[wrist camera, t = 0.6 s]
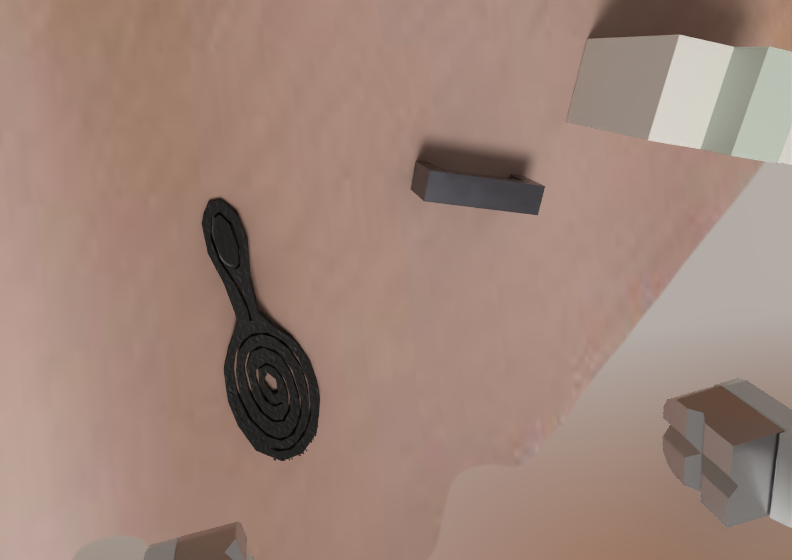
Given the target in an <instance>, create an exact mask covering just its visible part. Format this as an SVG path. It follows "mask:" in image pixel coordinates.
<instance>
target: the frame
mask: <svg viewBox="0 0 792 560" xmlns="http://www.w3.org/2000/svg"><path fill="white" fill-rule="evenodd" d="M544 188H545V186H543V185H541V184H539V183H537V182H534V181H532V180H530V179H528V178H526V177H524V176H518V175H511V176H510V179H507V178H500V177H492V176H485V175H478V174H471V173H464V172H456V171H449V170H442V169H438V168H436V167H435V166H433V165H432V164H430V163H426V162H419V161H416V164H415V169H414V175H413V181H412V186H411V190H412V191H413V192H414V193H416V194H417V195H418V196H419V197H420V198H421V199H422V200H423V201H427V202H435V203H443V204H451V205H460V206H468V207H476V208H484V209H492V210H500V211H508V212H516V213H525V214H533V215H538V212H539V208H540V204H541V200H542V196H543V192H544Z"/></svg>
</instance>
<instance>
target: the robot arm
mask: <svg viewBox="0 0 792 560" xmlns="http://www.w3.org/2000/svg"><path fill="white" fill-rule="evenodd" d="M663 418H664V419H665V420H666V421H667V422H668V423H669V424H670V426H669V428H668V429H667V431H666V433H665V434H664V436H663V452H664V455H665V458H666V461H667V463H668V466H669V467H670V469H671V470H672V472H673V473H674V475H675V476H676V477H677V478H678V479H679V480H680V481H681V482H682V483H683V484H684V485H686V486H688V487H691V488H694V489H696V490H699V491H700V501H701V503H702V504H703V505H704V506H705V507H706V508H707V509H709V511H710V512H711V513H712V514H714V516H716V517H717V518H718V519H719V520H720V521H721V522H722V523H723V524H724V525H725V526H726V527H731V526H734V525H738V524H741V523H744V522H748V521H751V520H755V519H758V518H762V517H765V516H768V515H770V518H772V519H774V520H776V521H778V522H780V523H782V524H784V525H786V526H789V527H790V528H792V410H791V409H789V408H788V407H786V406H785V405H783V404H782V403H780V402H779V401H777V400H776V399H774V398H773V397H771V396H769V395H768V394H767V393H765V392H764V391H762V390H760V389H759V388H757V387H756V386H754V385H753V384H751V383H750V382H748V381H747V380H743V379H739V378H737V379H734V380H731V381H727V382H724V383H720V384H717V385H714V386H713V387H709V388H705V389H702V390H699V391H695V392H692V393H688V394H685V395H681V396H678V397H675V398H671V399H668V400H667V401H666V403H665V405H664V412H663ZM144 560H254V558H253V557H252V556H250V555H249V554H247V537H246V535H245V532H244V530H243V527H242V524H241V523H239V522H235V523H231V524H227V525H223V526H220V527H216V528H212V529H208V530H204V531H200V532H196V533H193V534H189V535H185V536H181V537H180V538H176V539H172V540H168V541H164V542H160V543H156V544H153V545H150V546H149V548H148V549H147V551H146V552H145V556H144Z"/></svg>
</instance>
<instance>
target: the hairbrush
mask: <svg viewBox="0 0 792 560" xmlns="http://www.w3.org/2000/svg"><path fill="white" fill-rule="evenodd" d="M234 210H235V209H234ZM234 210H233V209H232V207H231V206H230V205H229V204H227V203H226V202H224V201H223V200H221V199H218V200H214V201H211V202H209V203H208V204H207V207H206V211H204V217H203V221H202V227H203V232H204V237H205V241H206V246H207V251H208V254H209V256H210V258H211V260H212V262H213V264H214V266H215V268H216V270H217V271H218V273H219V275H220V277H221V279H222V281H223V283H224V285H225V288H226V290H227V293H228V296H229V298H230V301H231V304H232V306H233V309H234V312H235V314H236V317H237V324H236V329H235V332H234V335H233V337H232V339H231V342H230V345H229V347H228V348H229V350H227V351H228V354H227V357H226V361H225V366H224V375H225V383H226V390H227V397H228V402H229V405H230V407H231V410H232V412H233V414H234V417H235V419H236V422H237V424H238V426H239V428H240V429H241V431H242V432H243V433H244V435H245V436H246V438H247V439H248V440H249V442H250V443H251V444H252V446H253V447H254V449H255V450H256V451H258V452H261V453H263V454H266V455H267V456H271V457H273V458H274V460H276V459H278V460H281V461H285V460H286V459H289V458H291V457H294V456H296V455H299V456H301V455H300V454H302V453H303V454H304V450H305V449H306V447H307V446H308V445H309V443H310V442H311V443H312V441H311V440H312V439H313V438H314V436H316V433H317V427H318V418H319V405H320V397H319V396H320V395H319V390H318V385H317V380H316V377H315V374H314V371H313V369H312V366H311V363H310V361H309V359H308V358H307V356H306V355H305V353H304V351H303V350H302V348H301V347H300V345H299V343H298V342H296V341H295V339H294V338H293V337H292V336H291V335H290V334H289V333H288V334H289V335H290V336H291V337H292V338H291V337H290V336H289V335H288V334H287V333H285V332H286V331H285V330H283V329H282V328H280V327H279V326H277V325H276V324H274V323H273V322H272V321H271V320H269V319H268V318H267V317H266V316H265V315H264V314H262V313H261V312H260V311H259V310H258V307H257V302H256V298H255V294H254V289H253V285H252V281H251V277H250V267H249V254H248V241H247V236H246V234H245V231H244V229H243V226H242V224H241V221H240V218H239V216H238V214H236V213H235V211H236V210H235V211H234ZM219 211H220V212H221V213H222V214H221V213H220V214H221V215H220V214H218V215H216V216H215V218H214V220H213V231H212V235H211V228H212V218H213V216H214V215H215V214H217V213H218V212H219ZM230 222H231V223H232V225H233V228H234V231H235V234H236V237H237V240H238V243H239V246H240V264H239V265H238V262H239V246H238V243H237V240H236V237H235V234H234V231H233V228H232V226H231V223H230ZM212 236H213V237H212ZM213 239H214V240H213ZM223 263H224V264H223ZM224 265H225V266H226V267H225V266H224ZM237 265H238V266H237ZM226 268H227V269H228V270H227V269H226ZM228 271H229V272H230V274H231V275H232V277H233V278H234V280H235V281H236V283H237V284H238V286H239V287H240V289H241V291H242V294H243V295H242V294H241V292H240V290H239V288H238V287H237V285H236V283H235V282H234V280H233V278H232V277H231V275H230V274H229V272H228ZM243 296H244V297H243ZM244 298H245V299H244ZM245 300H246V301H245ZM248 307H249V309H248ZM249 310H250V314H251V318H250V314H249ZM284 331H285V332H284ZM270 334H271V335H270ZM276 337H277V338H276ZM278 338H279V339H280V340H279V339H278ZM244 339H245V341H244V342H243V343H241V342H242V341H243V340H244ZM281 340H283V341H284V342H285V343H286V344H287V345H288V346H289V348H290V349H291V350H292V351H293V352H294V353H295V354H296V356H297V357H298V358H299V361H300V363H301V365H302V368H303V370H304V373H305V375H306V377H307V380H308V384H309V391H310V402H311V410H310V415H309V420H308V413H309V400H308V390H307V384H306V380H305V377H304V373H303V371H302V369H301V366H300V364H299V362H298V360H297V359H296V357H295V356H294V354H293V353H292V351H291V350H290V349H289V348H288V346H287V345H286V344H285V343H284V342H282V341H281ZM240 344H241V346H240V349H239V351H238V355H237V368H236V375H237V381H238V386H239V391H240V395H238V394H239V392H238V390H237V387H236V383H235V376H234V362H235V354H236V351H237V349H238V347H239V345H240ZM258 346H261V347H258ZM253 349H254V350H253ZM273 349H274V350H273ZM252 350H253V351H252ZM275 350H277V351H278V352H279V353H280V355H281V356H282V357H281V356H280V355H279V354H278V353H277V352H276V351H275ZM251 351H252V352H251ZM249 352H251V353H250V355H249V357H248V362H247V367H246V369H247V373H248V377H249V381H250V385H251V389H252V393H253V395H252V393H251V391H250V388H249V386H248V383H247V379H246V375H245V362H246V358H247V354H248V353H249ZM285 361H286V362H285ZM265 363H268V364H265ZM286 363H287V364H288V365H289V366H290V368H291V369H292V370H293V374H294V377H295V380H296V383H297V386H298V389H299V392H300V396H301V409H300V417H299V422H298V423H297V420H298V413H299V406H300V401H299V394H298V390H297V387H296V386H295V385H296V384H295V381H294V378H293V376H292V374H291V372H290V369H289V367H288V365H287V364H286ZM269 364H270V365H269ZM260 366H261V367H260ZM274 366H275V367H277V368H278V370H279V371H280V373H281V374H282V376H283V377H284V378H285V380H286V384H287V387H288V390H289V394H290V407H288V392H287V388H286V384H285V382H284V380H283V378H282V376H281V374H280V373H279V372H278V371H277V369H276V368H275V367H274ZM259 367H260V368H259ZM257 368H259V369H258V372H259V382H260V386H261V389H262V391H263V392H264V394H265V395H266V396H265V395H264V394H262V393H263V392H262V391H261V389H260V387H259V385H258V383H257V378H256V369H257ZM267 372H268V373H269V374H270V375H271V376H273V377H274V378H275V379H276V382H277V388H278V389H277V390H278V391H277V392H276V391H273V392H274V393H273V392H272V391H271V390H270V388H269V387H268V386H267V384H266V382H265V377H266V375H267ZM263 395H264V396H265V397H264V396H263ZM252 396H253V397H252ZM240 397H241V398H240ZM253 398H255V399H253ZM241 399H242V400H241ZM255 400H256V401H257V403H258V404H259V405H258V404H257V403H256V402H255ZM242 401H243V403H244V404H243V403H242ZM244 405H245V406H244ZM246 408H247V409H246ZM288 408H289V411H288V413H287V414H286V412H287V410H288ZM285 414H286V415H285ZM307 421H308V424H307ZM306 425H307V426H306ZM294 427H295V428H294ZM304 429H305V430H304ZM292 430H293V431H292ZM313 441H314V439H313ZM306 451H307V450H306ZM275 458H276V459H275ZM291 459H293V458H291ZM289 460H290V459H289Z"/></svg>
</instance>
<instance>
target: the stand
mask: <svg viewBox="0 0 792 560" xmlns="http://www.w3.org/2000/svg"><path fill="white" fill-rule="evenodd" d="M566 122H567V123H572V124H576V125H581V126H585V127H590V128H595V129H599V130H604V131H608V132H613V133H617V134H622V135H626V136H631V137H635V138H640V139H644V140H649V141H655V142H661V143H667V144H673V145H679V146H685V147H691V148H697V149H702V150H707V151H711V152H716V153H721V154H725V155H730V156H736V157H742V158H748V159H754V160H759V161H765V162H771V163H778V162H779V163H786V164H791V165H792V52H791V51H786V50H782V49H778V48H774V47H769V46H765V47H732V46H728V45H723V44H719V43H715V42H710V41H706V40H702V39H697V38H693V37H688V36H684V35H658V36H637V37H616V38H595V39H587V42H586V46H585V50H584V54H583V58H582V62H581V66H580V70H579V74H578V78H577V82H576V86H575V89H574V93H573V97H572V101H571V105H570V109H569V113H568V117H567V121H566Z"/></svg>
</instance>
